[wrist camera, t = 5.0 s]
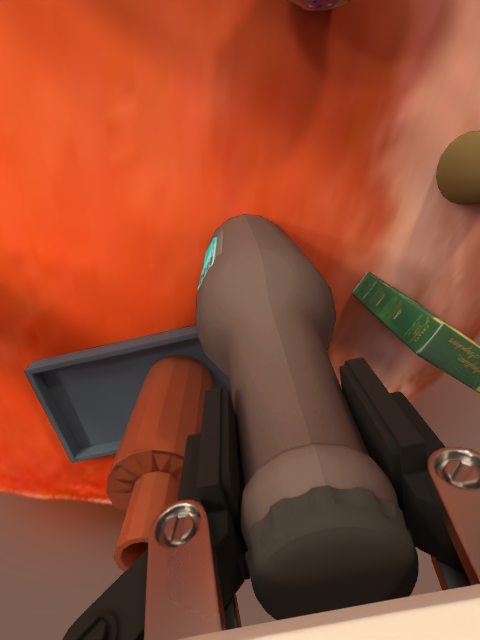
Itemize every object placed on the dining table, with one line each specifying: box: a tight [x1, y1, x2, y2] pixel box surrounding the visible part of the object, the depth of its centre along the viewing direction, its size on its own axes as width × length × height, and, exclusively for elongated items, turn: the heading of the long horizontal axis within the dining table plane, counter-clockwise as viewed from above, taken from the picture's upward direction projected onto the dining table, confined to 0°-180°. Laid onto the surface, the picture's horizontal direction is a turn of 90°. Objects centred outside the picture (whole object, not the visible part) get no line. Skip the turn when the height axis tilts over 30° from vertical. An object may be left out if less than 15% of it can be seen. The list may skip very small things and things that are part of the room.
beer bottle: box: [195, 214, 418, 620], centre depth 21 cm, size 8×8×30 cm
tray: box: [24, 325, 234, 463], centre depth 39 cm, size 28×12×2 cm, turn 103°
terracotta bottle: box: [107, 355, 214, 571], centre depth 30 cm, size 7×7×19 cm
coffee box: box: [352, 272, 480, 393], centre depth 31 cm, size 8×3×13 cm, turn 57°
